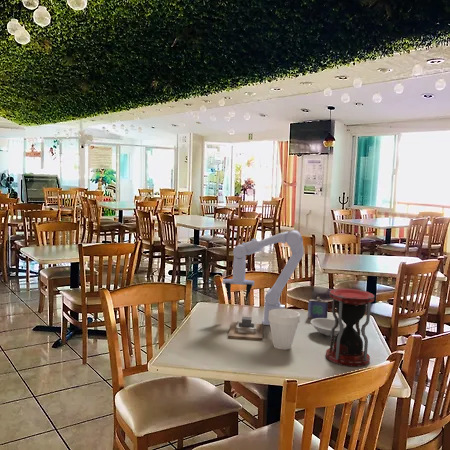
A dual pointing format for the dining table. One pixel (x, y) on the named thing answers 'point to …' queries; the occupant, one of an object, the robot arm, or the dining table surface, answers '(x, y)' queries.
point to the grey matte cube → (246, 322)
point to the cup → (283, 327)
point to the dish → (325, 326)
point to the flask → (317, 308)
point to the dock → (246, 331)
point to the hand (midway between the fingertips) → (237, 299)
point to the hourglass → (349, 327)
